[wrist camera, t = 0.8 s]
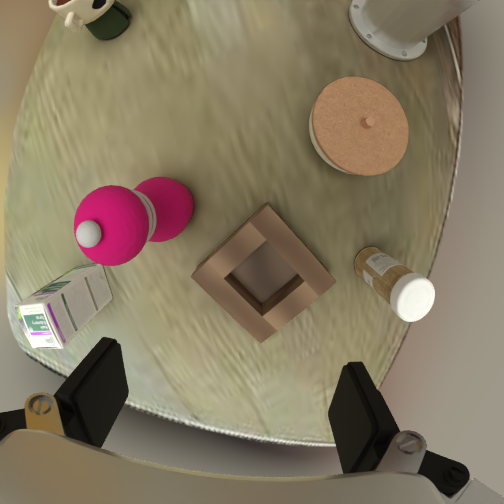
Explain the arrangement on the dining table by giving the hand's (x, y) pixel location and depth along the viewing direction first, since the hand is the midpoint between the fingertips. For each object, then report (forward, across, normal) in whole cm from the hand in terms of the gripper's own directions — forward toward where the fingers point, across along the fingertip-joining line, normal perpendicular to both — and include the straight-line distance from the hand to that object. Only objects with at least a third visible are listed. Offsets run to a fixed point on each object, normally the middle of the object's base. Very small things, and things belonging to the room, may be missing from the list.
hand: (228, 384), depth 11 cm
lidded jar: (+26, -11, -15) cm, 32 cm away
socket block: (+26, -2, +3) cm, 26 cm away
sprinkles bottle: (+26, -16, +1) cm, 31 cm away
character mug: (+26, +23, -32) cm, 47 cm away
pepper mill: (+26, +10, -4) cm, 28 cm away
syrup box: (+26, +22, +8) cm, 35 cm away
